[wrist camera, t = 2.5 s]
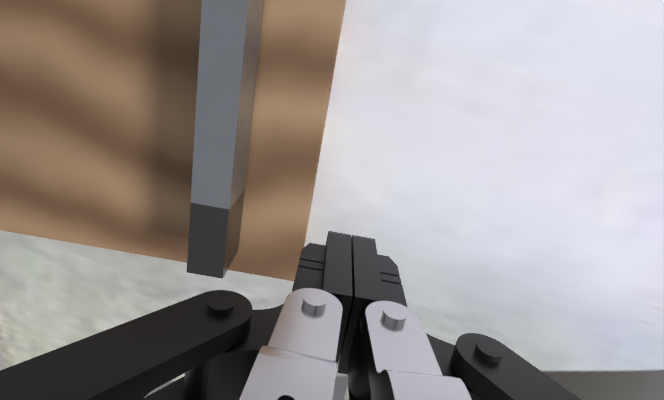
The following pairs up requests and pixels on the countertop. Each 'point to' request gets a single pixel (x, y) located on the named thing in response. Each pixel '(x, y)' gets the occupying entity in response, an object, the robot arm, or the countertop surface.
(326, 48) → the board
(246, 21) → the lever
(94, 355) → the robot arm
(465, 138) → the countertop surface
